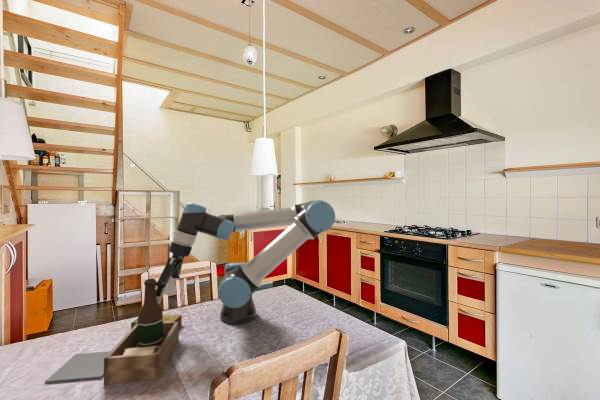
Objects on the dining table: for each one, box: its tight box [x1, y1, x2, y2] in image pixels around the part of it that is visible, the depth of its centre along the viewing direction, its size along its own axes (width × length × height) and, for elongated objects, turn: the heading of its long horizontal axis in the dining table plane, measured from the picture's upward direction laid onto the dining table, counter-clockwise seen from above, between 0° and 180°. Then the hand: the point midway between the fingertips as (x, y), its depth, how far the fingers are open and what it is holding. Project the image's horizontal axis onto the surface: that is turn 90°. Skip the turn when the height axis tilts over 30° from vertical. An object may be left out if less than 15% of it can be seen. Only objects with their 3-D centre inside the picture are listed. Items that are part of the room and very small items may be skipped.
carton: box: [130, 314, 182, 330], centre depth 111 cm, size 8×16×4 cm, turn 85°
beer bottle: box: [137, 278, 164, 348], centre depth 93 cm, size 8×8×24 cm
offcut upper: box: [123, 346, 156, 355], centre depth 83 cm, size 8×4×3 cm, turn 107°
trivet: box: [44, 350, 112, 384], centre depth 86 cm, size 14×14×1 cm
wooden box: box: [103, 321, 180, 385], centre depth 89 cm, size 14×22×7 cm, turn 10°
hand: (161, 299), depth 103 cm, fingers open, 13 cm apart
